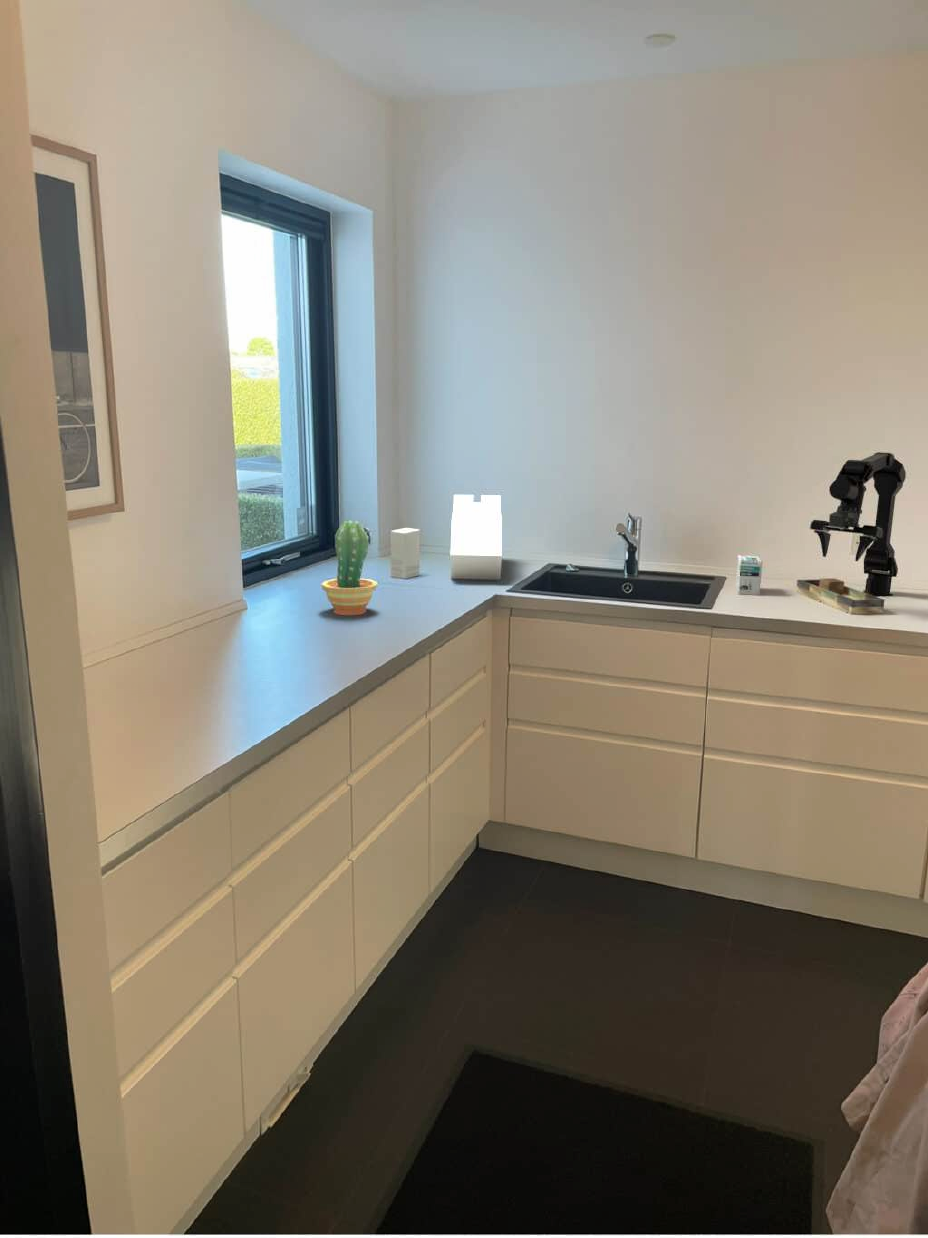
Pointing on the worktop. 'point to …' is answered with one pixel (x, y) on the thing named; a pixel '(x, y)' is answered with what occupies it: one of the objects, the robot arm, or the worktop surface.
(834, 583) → the walnut block
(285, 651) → the worktop surface
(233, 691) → the worktop surface
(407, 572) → the skincare box
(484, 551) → the storage box
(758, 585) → the light bulb box
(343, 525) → the potted cactus
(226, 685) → the worktop surface
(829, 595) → the box
